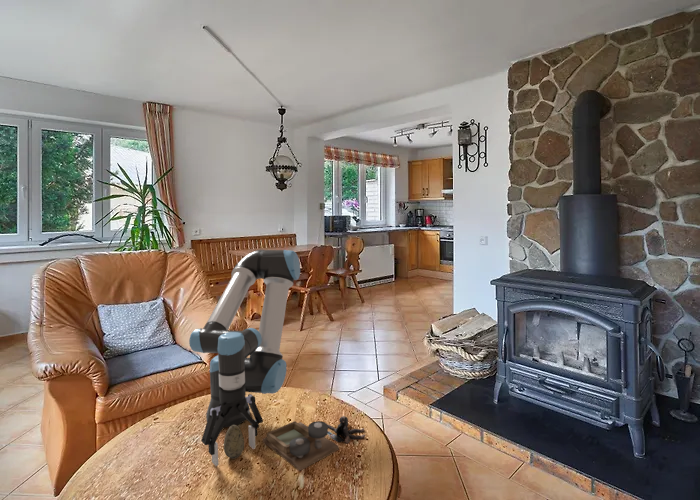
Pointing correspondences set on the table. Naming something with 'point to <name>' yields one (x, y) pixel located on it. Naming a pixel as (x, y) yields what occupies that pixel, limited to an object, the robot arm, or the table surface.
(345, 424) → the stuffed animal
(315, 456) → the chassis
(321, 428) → the wheel
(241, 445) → the decorative egg
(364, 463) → the table surface
